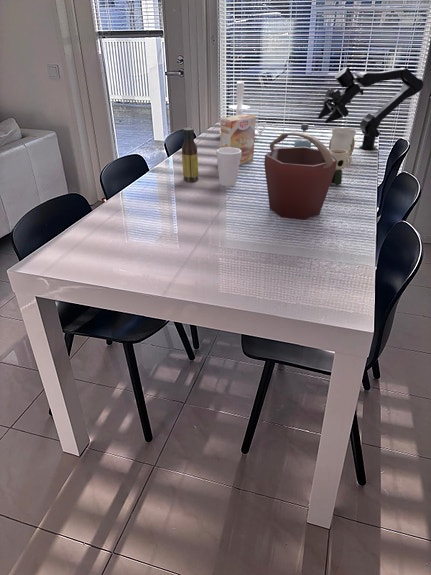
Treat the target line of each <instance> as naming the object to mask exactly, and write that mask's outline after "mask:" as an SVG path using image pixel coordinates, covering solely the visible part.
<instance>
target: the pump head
mask: <svg viewBox="0 0 431 575" xmlns="http://www.w3.org/2000/svg"><path fill="white" fill-rule="evenodd" d="M300 130H301V131H302V133H306V132H307V131H308V130H309V123H301V126H300Z"/></svg>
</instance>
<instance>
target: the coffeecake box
mask: <svg viewBox="0 0 431 575" xmlns="http://www.w3.org/2000/svg"><path fill="white" fill-rule="evenodd" d="M256 121H257V117H256V116H255V115H251V114H246V113H244V114H243V115H238V116H235V115H233V116H227V117H220V130H221V133H220V132H219V133H220V134H219V135H220V137H219V141H220V143H219V144H220V145H219V148H225V147H232V148H238V149H240V150H241V158H240V164H239V166H240V165H241V166H242V165H244V164H249V163H252V162H254V153H255V141H256V140H255V137H256V135H255V130H256Z"/></svg>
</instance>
